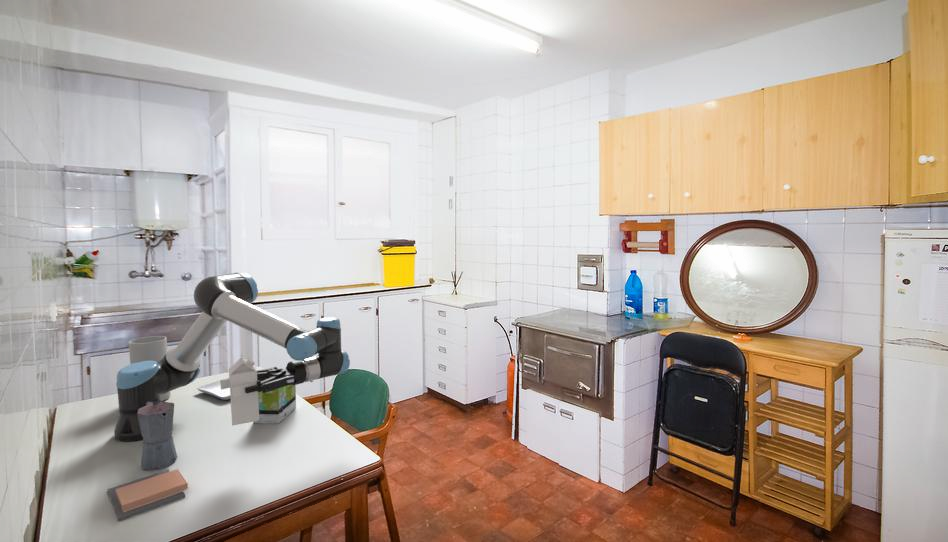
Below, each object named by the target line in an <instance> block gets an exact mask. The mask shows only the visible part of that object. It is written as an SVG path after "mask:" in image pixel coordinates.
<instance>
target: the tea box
mask: <svg viewBox="0 0 948 542" xmlns="http://www.w3.org/2000/svg"><path fill="white" fill-rule="evenodd" d="M296 387H297V385H288V386H284V387H281V388H278V389H275V390H272V391H269V392H266V393H262V391H261V392H258V404H259V421H254V422H252V423H253V424H280V423H281V422H282V421H283V420H284V419H285V418H286V417H288V416H289V415H290V414H291V413H292V412H293V411H294V410H295V409H297V395H296V392H297V391H296V389H297V388H296Z"/></svg>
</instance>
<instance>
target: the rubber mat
mask: <svg viewBox="0 0 948 542" xmlns="http://www.w3.org/2000/svg"><path fill="white" fill-rule="evenodd" d="M170 471H171V470H170V469H166V470H162V471H160V472H156V473H153V474H150V475H146V476H144V477H141V478H138V479H133V480H132V481H129V482H126V483H122V484H119V485H116V486H113V487H109V488H107V489H106V490H108V491H107V494H108V493H109V494H108V497H109V496H110V497H109V499H110V498H111V499H110V502H111V501H112V502H111V504H112V507H113V509H115V510H114V512H115V515H116V517H118V518H117V520H118V522H120V521H123V520H126V519H129V518H131V517H134V516H136V515H140V514H143V513H145V512H148V511H150V510H153V509H157V508H159V507H161V506H165V505H167V504H170V503H173V502H176V501H178V500H181V499H183V498H186V493H185V491H183V492H180V493H177V494H174V495H172V496H169V497H166V498H163V499H160V500H157V501H155V502H152V503H149V504H146V505H143V506H140V507H138V508H135V509H132V510H129V511H126V512H123V511H122V509H121V506H120V504H119V501H118V499H117V497H116V490H115V489H118V488H121V487H124V486H127V485H130V484H133V483H136V482H139V481H142V480H146V479H149V478H152V477H155V476H158V475H161V474H164V473H167V472H170Z"/></svg>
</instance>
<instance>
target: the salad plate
mask: <svg viewBox="0 0 948 542" xmlns="http://www.w3.org/2000/svg"><path fill="white" fill-rule="evenodd" d="M228 378H229V377H226V378H225V379H228ZM220 380H221V379H220ZM220 380H216V381H213V382H210V383H206V384H203V385H200V386H197V387H196V390H198V391H199V392H201V393H204V394H207V395H210V396H213V397H215V398H217V399H220V400H222V401H228V400H231V397H230V388H226V389H221V382H220Z"/></svg>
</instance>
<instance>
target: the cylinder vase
mask: <svg viewBox="0 0 948 542" xmlns="http://www.w3.org/2000/svg"><path fill="white" fill-rule="evenodd" d="M167 340H168V339H167V336H165V335H164V336H163V335H153V336H144V337H139V338H135V339H131V340H129V341H128V350H129V351H128V353H129V361H130V362H129V363H130V364H133V363H139V362H141V361H156V362H158V361H160V360H162V359H163V357H164V356H165V355H166V353H167V352H168V341H167ZM130 364H129V365H130ZM170 397H171V391H169V392H167V393H165V394H162V395H160V399H161V402H165V401H167V400H168V399H169V398H170Z"/></svg>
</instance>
